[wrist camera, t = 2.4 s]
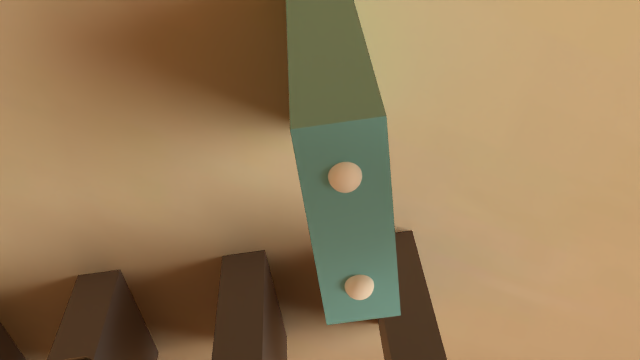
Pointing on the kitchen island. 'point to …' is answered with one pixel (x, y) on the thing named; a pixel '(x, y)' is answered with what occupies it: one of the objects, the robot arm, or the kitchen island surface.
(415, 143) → the kitchen island surface
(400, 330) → the domino
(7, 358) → the domino
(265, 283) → the domino
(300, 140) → the domino
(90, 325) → the domino
